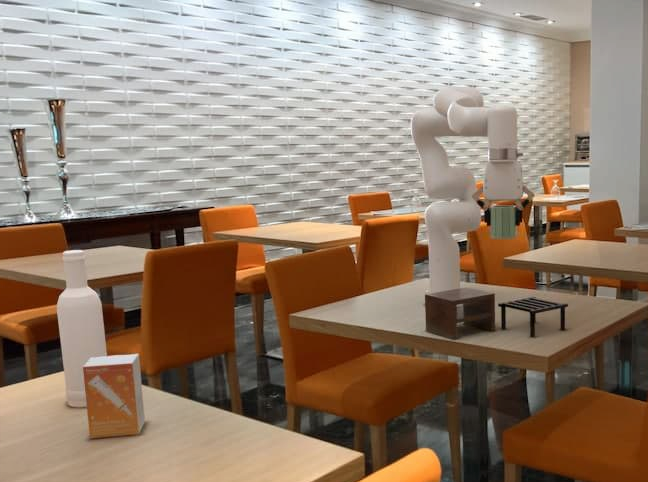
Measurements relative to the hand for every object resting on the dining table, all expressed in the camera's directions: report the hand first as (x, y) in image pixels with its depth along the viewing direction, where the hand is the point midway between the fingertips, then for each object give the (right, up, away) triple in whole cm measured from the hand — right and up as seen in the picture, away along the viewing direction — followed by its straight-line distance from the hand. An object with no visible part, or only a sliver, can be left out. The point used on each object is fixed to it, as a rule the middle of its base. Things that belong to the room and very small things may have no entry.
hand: (503, 225), depth 194 cm
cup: (0, -3, +1) cm, 3 cm away
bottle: (-85, -38, -45) cm, 104 cm away
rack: (+8, -27, +5) cm, 29 cm away
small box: (-72, -41, -62) cm, 103 cm away
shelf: (-11, -28, +5) cm, 30 cm away
